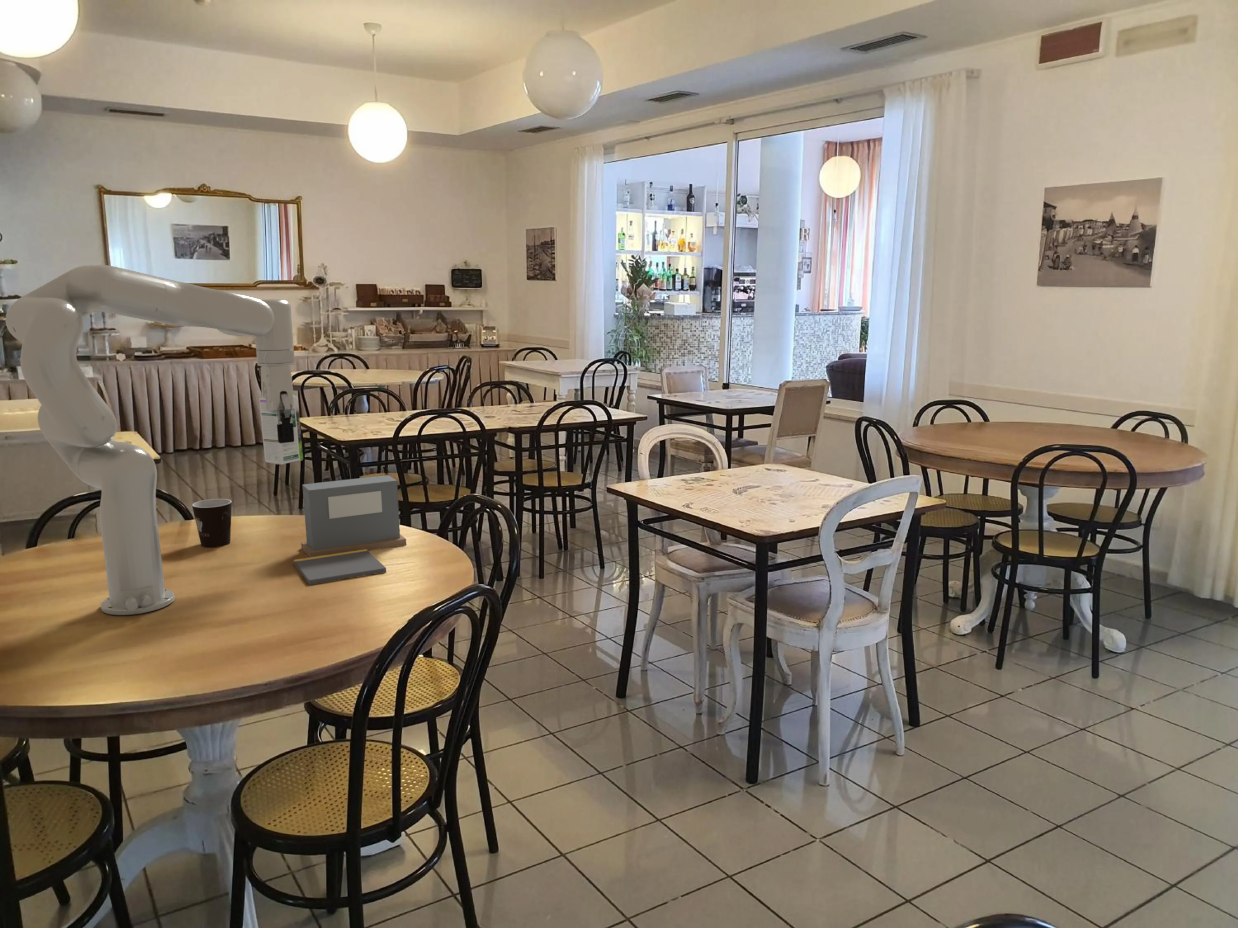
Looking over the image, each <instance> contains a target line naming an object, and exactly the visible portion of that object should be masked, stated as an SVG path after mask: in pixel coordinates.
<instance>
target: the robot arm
mask: <svg viewBox="0 0 1238 928" xmlns="http://www.w3.org/2000/svg"><path fill="white" fill-rule="evenodd" d="M94 312H99V313H100V312H101V313H107V314H113V315H119V316H123V317H128V318H134V319H137V320H144V321H148V322H149V321H150V322H152V323H153V322H154V323H159V324H162V325H163V324H164V325H168V326H176V327H189V328H190V327H191V328H192V327H193V328H206V329H216V330H217V331H219V332H220V333H222V334H223V335H227V336H235V337H236V336H237V337H252V338H254V339H255V348H256V350H255V351H256V363H257V366H258V367H260V384H261V386H260V387H261V389H260V390H261V397H266V408H267V411H269V412H271V413H273V412H274V410H277V412H276V413H277V419H278V424H277V433H278V442H279V443H289V442H294V430H293V420H292V415H291V411H292V410H293V409H294V397H293V395H294V387H293V386H294V385H293V377H292V370H291V366H294V365H296V362H295V361H296V360H295V349H294V336H293V335H294V334H293V319H292V309H291V304H290V302H289V301H287V300H286V299H281V298H280V299H279V298H278V299H277V298H276V299H274V298H271V299H269V298H268V299H267V298H266V299H259V298H255V297H251V296H247V295H243V294H238V293H233V292H229V291H224V290H221V289H220V290H219V289H214V288H209V287H206V286H205V287H204V286H200V285H195V284H193V283H188V282H184V281H178V280H173V279H169V278H165V277H159V276H156V275H151V274H147V273H144V272H139V271H135V270H130V269H126V268H122V267H118V266H113V265H106V264H104V265H103V264H96V265H93V264H92V265H91V264H90V265H89V264H88V265H81V266H77V267H74V268H72V269H70V270H68V271H65V272H64V273H62V274H61V275H58V276H57V277H56V278H53V279H52V280H50V281H49V282H47V283H45V284H43V285H41V286H40V287H38V288H36V289H34V290H33V291H30V292H29V293H27V294H24V295H23V296H22V297H19V298H18V299H16V300H14V302H13V303H12V304H11V305H10V306H9V307H8V309H7V311H6V314H5V326H6V328H7V331H8V332H9V333H10V334H11V336H12V337H13V338H15V339H16V340H17V341H19V342H21V343H22V345H21V349H20V367H21V374H22V376H23V379H24V381H25V383H26V385H27V386H28V387H29V389H30V390H31V392H32V394H33V395H34V396H35V398H36V399H37V401H38V402H39V404H40V406H39V409H38V412H37V423H38V428H39V429H40V430H39V431H40V432H41V433H42V435H43V437H44V438H45V439H46V441H47V442H48V444H49V445H50V446H51V447H52V449H54V451H55V452H56V454H58V456H59V458H61V460H62V461H63V462H64V463H65V464H66V465H67V467H68V468H69V470H71V472H72V473H73V474H74V475H75V476H76V477H77V478H78V479H79V480H80V482H82V483H84V484H86V485H88V486H91V487H92V488H96V489H99V490H101V496H100V504H99V525H100V532H101V539H102V548H103V557H104V563H105V564H104V565H105V572H106V574H105V575H106V580H107V581H106V582H107V590H108V596H109V597H107V598H105V599H104V600H102V602H101V604H100V609H101V612H102V613H105V614H107V615H114V616H129V615H130V616H131V615H140V614H144V613H150V612H153V611H157V610H160V609H162V608H165V607H167V606H168V605H170V604H172V603H173V602H174V601H175V593H174V592H173V591H172V590H170V589H168V588H165V579H164V578H165V577H164V570H163V561H162V551H161V550H162V549H161V541H160V533H159V531H160V530H159V523H158V516H157V515H158V514H157V505H156V501H157V500H156V499H157V497H156V494H157V482H158V481H157V479H158V472H157V471H158V470H157V466H156V463H155V461H154V459H153V457H152V456H151V454H150V453H149V452H147V450H146V449H144V448H142V447H140V446H138V445H135V444H131V443H127V442H124V441H123V442H122V441H117V440H116V441H115V439H114V437H115V435H116V433H117V430H118V423H117V419H116V416H115V414H114V412H113V411H112V409H111V408H110V407H109V405H107V403H106V402H105V400H104V399H103V398H102V397H101V395H100V394H99V393H98V391H97V390H96V388H95V387H94V386H93V385H92V383H91V382H90V381H89V379H88V378H87V376H86V375H85V373H84V372H83V370H82V369H81V367H80V365H79V362H78V359H77V348H78V346H79V345H78V344H79V341H80V339H81V337H82V333H83V331H84V319H85V318H86V317H88V316H89V315H92V314H93V313H94ZM280 399H281V400H280ZM279 403H280V407H283V409H281V410H279V408H278V406H279ZM290 405H291V406H290ZM280 414H281V415H280Z"/></svg>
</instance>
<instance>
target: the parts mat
mask: <svg viewBox="0 0 1238 928" xmlns="http://www.w3.org/2000/svg"><path fill="white" fill-rule="evenodd" d="M293 565H294V566H295V568H296V569H297V571H298V572H299V573H300V575H301V576H302V577H303V579H304V580H305V581H306V582H307V584H308V585H309V586H310V585H317V584H323V583H329V582H335V581H334V580H336V581H339V580H338V579H343V580H346V579H345V578H349V579H351V578H350V577H355V578H358V577H357V576H361V577H364V576H363V575H367V576H372V575H371V574H373V575H376V574H375V573H379V574H384V573H383V572H385V573H387V567H386V566H385V565H384V564H383V563H381V561H379V560H378V559H377V558H376V556H374V555H373V554H372V553H371V552H370V551H368V550H367V549H364V550H357V551H350V552H344V553H337V554H330V555H323V556H317V557H310V558H309V557H306V558H297V559H294V560H293Z"/></svg>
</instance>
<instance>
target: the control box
mask: <svg viewBox="0 0 1238 928" xmlns="http://www.w3.org/2000/svg"><path fill="white" fill-rule="evenodd" d="M302 494H303V495H302V497H303V509H304V523H305V536H306V538H305V539H306V541H301V542H300V544H301V545H300V546H301V549H302V551H303V552H304V554H305V555H307V558H310V557H317V556H323V555H330V554H337V553H344V552H350V551H357V550H364V549H367V550H368V551H369V552H370V551H376V550H383V549H388V548H395V547H401V546H406V545H407V538H406V537H405V536H403V535H402V534H401V532H400V531H401V530H400V513H399V498H398V497H399V495H398V480H397V479H396V478H394V477H392V476H390V475H389V474H387V475H378V476H369V477H367V476H366V477H361V478H360V477H359V478H349V479H341V480H332V481H331V480H330V481H324V482H323V481H322V482H315V483H314V482H312V483H307V484H302Z"/></svg>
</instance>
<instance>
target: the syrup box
mask: <svg viewBox="0 0 1238 928" xmlns="http://www.w3.org/2000/svg"><path fill="white" fill-rule="evenodd" d="M293 397H294V409H293V410H292V411H291V415H292V420H293V430H294V442H289V443H279V442H278V433H277V424H278V419H277V413H276V412H277V410H274V412H273V413H271V412H269V411H267V408H266V397H262V396H260V397H258V401H259V411H260V422H261V423H260V424H261V433H262V442H263V444H262V445H263V455H264V462H266V463H269V464H275V465H285V464H291V463H294V462H301V461H303V460H304V454H303V443H302V432H301V431H302V430H301V419H300V407H299V397H298V395H296V394H293ZM280 400H281V399H280ZM290 406H291V405H290ZM278 408H279V410H281V409H283V407H280V403H279V406H278ZM280 415H281V414H280Z"/></svg>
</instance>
